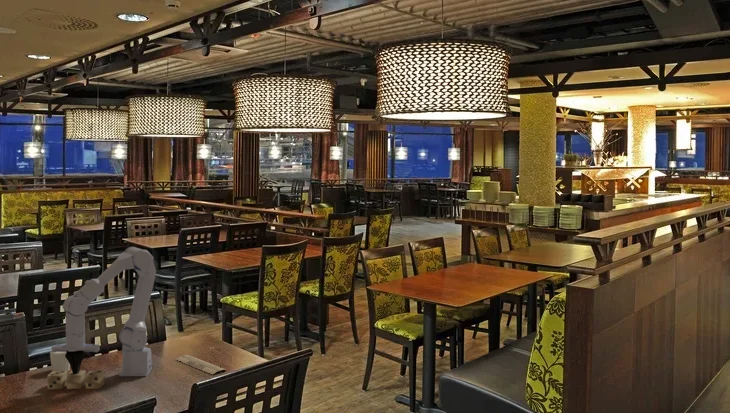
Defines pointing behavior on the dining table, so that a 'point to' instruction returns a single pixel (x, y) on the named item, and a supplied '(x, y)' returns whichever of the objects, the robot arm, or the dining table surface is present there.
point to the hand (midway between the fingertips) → (76, 373)
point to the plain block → (76, 380)
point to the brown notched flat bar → (199, 364)
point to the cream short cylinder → (59, 361)
